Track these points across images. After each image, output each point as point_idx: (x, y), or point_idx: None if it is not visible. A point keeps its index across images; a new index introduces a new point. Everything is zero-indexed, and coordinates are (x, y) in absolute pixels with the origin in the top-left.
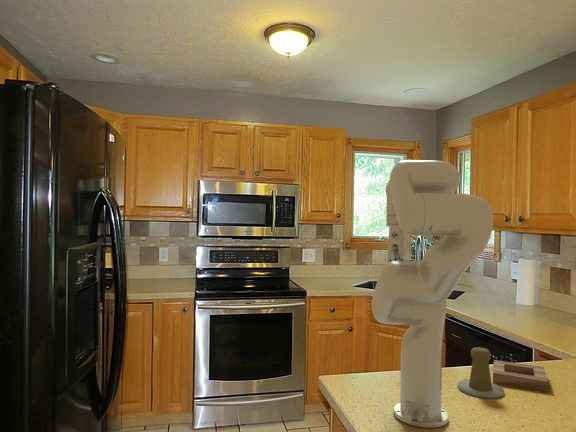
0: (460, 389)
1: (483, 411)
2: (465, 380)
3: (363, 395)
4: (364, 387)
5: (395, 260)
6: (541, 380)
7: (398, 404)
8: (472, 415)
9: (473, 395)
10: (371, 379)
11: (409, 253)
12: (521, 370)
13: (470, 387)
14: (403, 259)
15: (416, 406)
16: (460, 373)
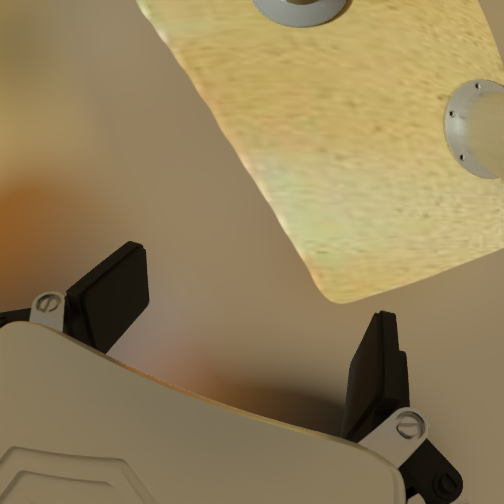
0: (321, 23)
1: (422, 3)
2: (264, 10)
3: (415, 228)
4: (373, 227)
5: (462, 485)
6: None
7: (470, 167)
8: (450, 29)
9: (345, 2)
10: (321, 213)
11: (68, 414)
12: None
13: (312, 2)
14: (389, 462)
15: None
16: (202, 24)
